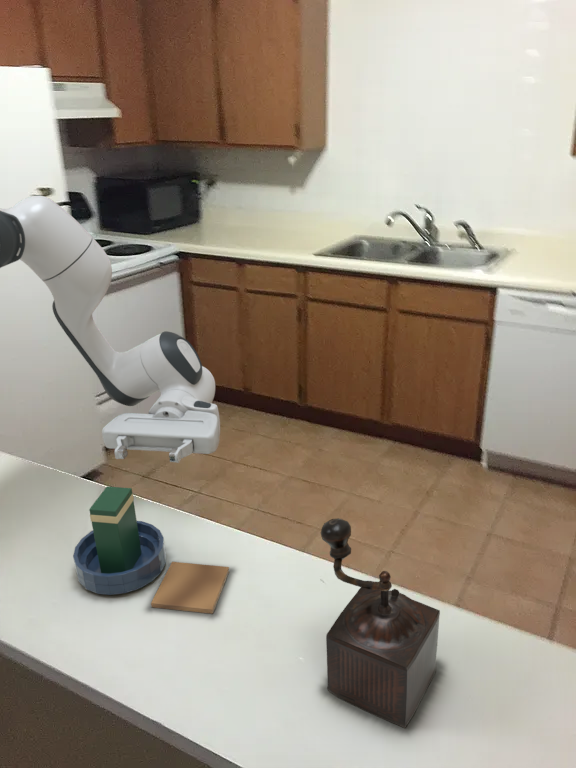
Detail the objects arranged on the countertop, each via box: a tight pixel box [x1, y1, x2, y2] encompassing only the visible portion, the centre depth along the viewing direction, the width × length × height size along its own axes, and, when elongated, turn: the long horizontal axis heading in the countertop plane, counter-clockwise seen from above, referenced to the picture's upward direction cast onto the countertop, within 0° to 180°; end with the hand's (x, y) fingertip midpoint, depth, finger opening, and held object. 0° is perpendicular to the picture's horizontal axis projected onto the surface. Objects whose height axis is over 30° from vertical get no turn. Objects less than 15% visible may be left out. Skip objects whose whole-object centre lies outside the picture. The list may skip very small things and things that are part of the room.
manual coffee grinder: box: [320, 517, 441, 729], centre depth 79 cm, size 16×11×18 cm
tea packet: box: [88, 486, 141, 574], centre depth 99 cm, size 4×6×12 cm
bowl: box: [72, 520, 167, 596], centre depth 101 cm, size 13×13×4 cm
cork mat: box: [150, 561, 230, 615], centre depth 97 cm, size 9×9×1 cm
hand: (145, 457), depth 109 cm, fingers open, 8 cm apart
